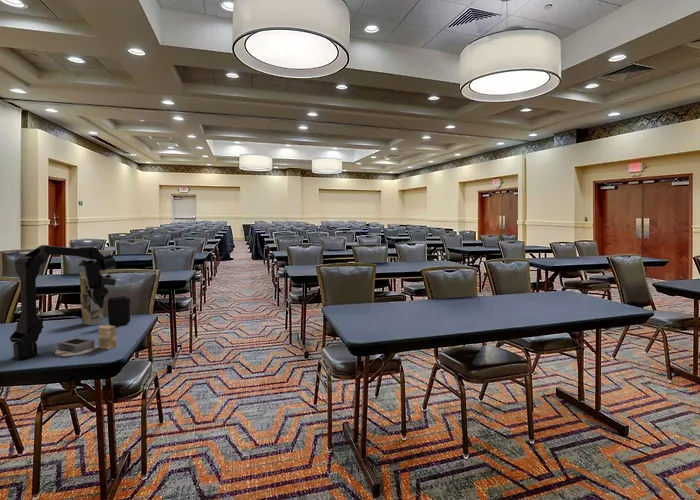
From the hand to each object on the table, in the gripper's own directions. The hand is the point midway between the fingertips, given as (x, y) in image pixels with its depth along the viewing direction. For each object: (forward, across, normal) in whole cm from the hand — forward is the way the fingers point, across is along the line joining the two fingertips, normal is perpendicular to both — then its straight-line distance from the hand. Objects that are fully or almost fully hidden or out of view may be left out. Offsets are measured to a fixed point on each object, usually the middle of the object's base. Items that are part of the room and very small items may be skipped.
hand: (99, 306), depth 189 cm
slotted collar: (+12, -18, +14) cm, 26 cm away
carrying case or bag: (+16, +13, -10) cm, 23 cm away
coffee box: (+16, +28, 0) cm, 32 cm away
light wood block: (+13, -22, +3) cm, 26 cm away
